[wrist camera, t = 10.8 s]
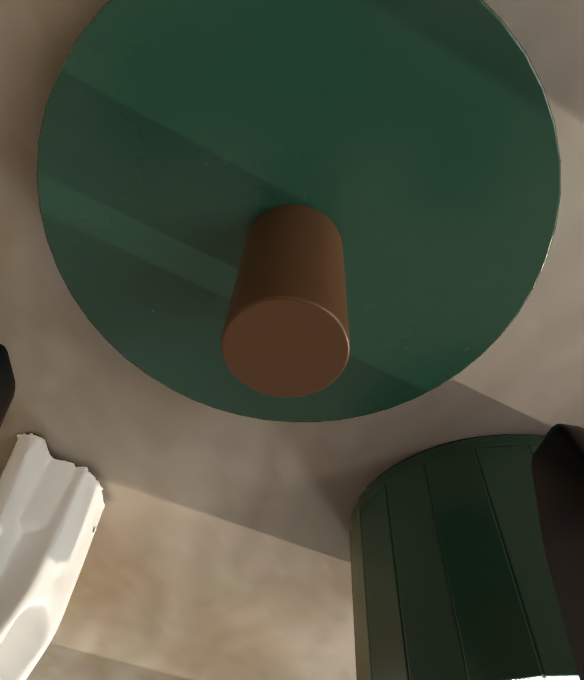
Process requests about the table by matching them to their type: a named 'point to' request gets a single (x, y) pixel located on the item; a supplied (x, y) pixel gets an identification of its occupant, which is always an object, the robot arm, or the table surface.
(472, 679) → the tin
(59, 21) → the table surface
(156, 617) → the table surface
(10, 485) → the shaker set
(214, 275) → the lid
